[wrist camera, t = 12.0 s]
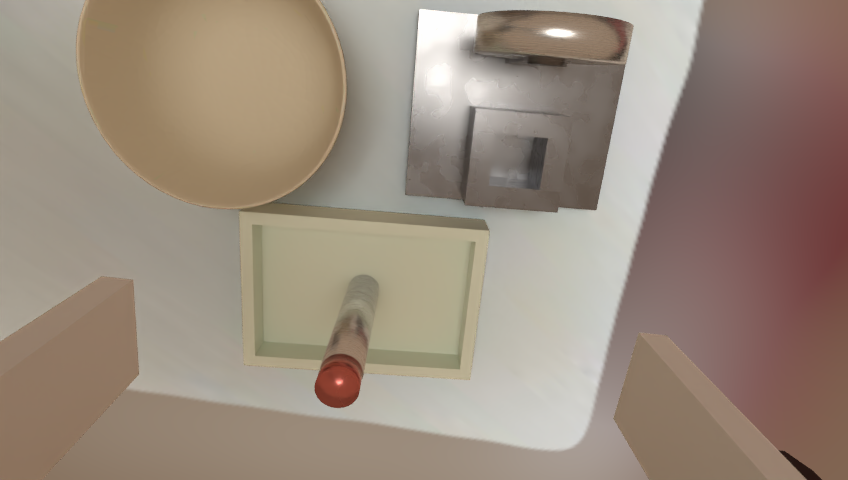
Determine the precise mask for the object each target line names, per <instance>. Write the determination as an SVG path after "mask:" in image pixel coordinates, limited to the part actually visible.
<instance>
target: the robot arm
mask: <svg viewBox="0 0 848 480" xmlns="http://www.w3.org/2000/svg"><path fill="white" fill-rule="evenodd" d="M138 375H139V365H138V350H137V334H136V318H135V302H134V287H133V280H131V279H121V278H112V277H100V278H98V279H97V280H95V281H94V282H92V283H91V284H89V285H88V286H86V287H84V288H83V289H81V290H80V291H78V292H77V293H75V294H74V295H72V296H71V297H69V298H67V299H66V300H64V301H63V302H61V303H60V304H58V305H57V306H55V307H53V308H52V309H50V310H49V311H47V312H46V313H44V314H43V315H41V316H40V317H38V318H36V319H35V320H33V321H32V322H30V323H29V324H27V325H26V326H24V327H22V328H21V329H19V330H18V331H16V332H15V333H13V334H12V335H10V336H9V337H7V338H5V339H4V340H2V341H1V342H0V480H42V479H43V478H44V477H45V476H46V475H47V474H48V472H50V470H51V469H52V468H53V467H54V466H55V465H56V464H57V463H58V462H59V460H61V458H62V457H63V456H64V455H65V454H66V453H67V452H68V451H69V450H70V449H71V448H72V446H73V445H74V444H75V443H76V442H77V441H78V440H79V439H80V438H81V437H82V436H83V435H84V433H85V432H86V431H87V430H88V429H89V428H90V427H91V426H92V425H93V424H94V423H95V421H96V420H97V419H98V418H99V417H100V416H101V415H102V414H103V413H104V412H105V411H106V409H107V408H108V407H109V406H110V405H111V404H112V403H113V402H114V400H116V399H117V397H118V396H119V395H120V394H121V393H122V392H123V391H124V390H125V389H126V388H127V387H128V386H129V384H130V383H131V382H132V381H133V380H134V379H135V378H136V377H137V376H138ZM614 420H615V422H616V423H617V425H618V427H619V429H620V430H621V432H622V434H623V436H624V437H625V439H626V441H627V442H628V444H629V446H630V448H631V449H632V451H633V453H634V454H635V456H636V458H637V460H638V461H639V463H640V465H641V467H642V468H643V470H644V472H645V473H646V475H647V477H648V479H649V480H822V479H821V478H820V477H819V476H818V475H817V474H816V473H815V472H814V471H812V470H811V469H810V468H808V467H807V466H805V465H804V464H802V463H801V462H799V461H798V460H797V459H795V458H794V457H792V456H791V455H789V454H788V453H786V452H785V451H778V450H777V449H776V448H775V447H774V446H773V445H772V444H771V442H769V440H768V439H767V438H766V437H765V436H764V435H763V434H762V433H761V432H760V431H759V430H758V429H757V428H756V427H755V426H754V425H753V424H752V423H751V422H750V421H749V420H748V419H747V418H746V417H745V416H744V415H743V414H742V413H741V412H740V411H739V410H738V409H737V408H736V407H735V406H734V404H733V403H731V401H730V400H729V399H728V398H727V397H726V396H725V395H724V394H723V393H722V392H721V391H720V390H719V389H718V388H717V387H716V386H715V385H714V384H713V383H712V382H711V381H710V380H709V379H708V378H707V377H706V376H705V375H704V374H703V373H702V372H701V371H700V370H699V368H697V366H696V365H695V364H694V363H693V362H692V361H691V360H690V359H689V358H688V357H687V356H686V355H685V354H684V353H683V352H682V351H681V350H680V349H679V348H678V347H677V346H676V345H675V344H674V343H673V342H672V341H671V340H670V339H669V338H668V337H667V336H665V335H656V334H647V333H639V334H638V337H637V340H636V344H635V347H634V351H633V354H632V358H631V361H630V364H629V368H628V371H627V374H626V378H625V381H624V385H623V388H622V392H621V395H620V398H619V401H618V405H617V408H616V412H615V415H614Z"/></svg>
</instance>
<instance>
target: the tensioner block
mask: <svg viewBox="0 0 848 480" xmlns="http://www.w3.org/2000/svg"><path fill="white" fill-rule="evenodd" d="M633 27H634V26H633V25H632V24H631V23H629V22H626V21H623V20H618V19H614V18H609V17H603V16H596V15H588V14H579V13H569V12H555V11H531V10H512V11H494V12H486V13H482V14H479V15H476V14H466V13H455V12H445V11H435V10H424V9H419V22H418V35H417V49H416V62H415V75H414V88H413V101H412V114H411V128H410V141H409V154H408V167H407V180H406V193H405V195H415V196H427V197H440V198H452V199H463V201H464V204H465V205H470V206H482V207H495V208H507V209H520V210H532V211H545V212H557V211H558V207H564V208H576V209H589V210H596V209H597V204H598V199H599V194H600V189H601V184H602V179H603V174H604V169H605V164H606V159H607V154H608V149H609V144H610V139H611V134H612V129H613V124H614V119H615V114H616V109H617V104H618V99H619V94H620V89H621V84H622V79H623V74H624V69H625V64H626V62H627V57H628V52H629V47H630V42H631V37H632V32H633Z"/></svg>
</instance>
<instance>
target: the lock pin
mask: <svg viewBox="0 0 848 480" xmlns="http://www.w3.org/2000/svg"><path fill="white" fill-rule="evenodd" d="M378 296H379V284H378V282H377V281H376V280H375V279H374V278H373V277H371V276H369V275H358V276H355V277H354V278H353V279H352V280H351V281H350V282H349V285H348V288H347V291H346V293H345V296H344V299H343V302H342V305H341V308H340V311H339V314H338V317H337V319H336V322H335V325H334V328H333V331H332V334H331V337H330V340H329V343H328V345H327V348H326V351H325V354H324V357H323V360H322V363H321V366H320V371H319V374H318V377H317V380H316V383H315V393H316V395H317V397H318V399H319V400H320V401H321V402H322V403H324V404H325V405H327V406H330V407H334V408H342V407H346V406H349V405H350V404H352V403H353V402H354V401H355V400H356V399H357V397H358V395H359V390H360V385H361V380H362V378H363V374H364V369H365V363H366V358H367V353H368V348H369V343H370V337H371V332H372V327H373V322H374V317H375V311H376V306H377V301H378Z"/></svg>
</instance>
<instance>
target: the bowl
mask: <svg viewBox="0 0 848 480" xmlns="http://www.w3.org/2000/svg"><path fill="white" fill-rule="evenodd" d="M76 61H77V71H78V76H79V81H80V86H81V90H82V93H83V96H84V99H85V103H86V105H87V107H88V110H89V112H90V114H91V117H92V119H93V121H94V123H95V125H96V126H97V128H98V130H99V131H100V133H101V135H102V136H103V138H104V139H105V141H106V142H107V144H108V145H109V146H110V148H111V149H112V150H113V151H114V153H115V154H116V155H117V156H118V157H119V158H120V159H121V160H122V161H123V162H124V163H125V164H126V166H127V167H129V168H130V169H131V170H132V171H133V172H134V173H135V174H137V175H138V176H139V177H140V178H142V179H143V180H144V181H146V182H147V183H149V184H150V185H152V186H153V187H155V188H157V189H158V190H160V191H162V192H164V193H166V194H168V195H170V196H172V197H174V198H177V199H179V200H182V201H185V202H187V203H191V204H195V205H199V206H203V207H209V208H217V209H243V208H249V207H255V206H259V205H263V204H266V203H269V202H272V201H274V200H277V199H279V198H281V197H283V196H285V195H287V194H289V193H291V192H292V191H294V190H295V189H297V188H298V187H300V186H301V185H302V184H303V183H304V182H306V181H307V180H308V179H309V178H310V177H311V176H312V175H313V174H314V173H315V172H316V171H317V170H318V169H319V167H320V166H321V165H322V163H323V162H324V161H325V159H326V158H327V156H328V155H329V153H330V151H331V149H332V147H333V146H334V144H335V141H336V139H337V137H338V134H339V131H340V128H341V125H342V121H343V117H344V112H345V106H346V97H347V78H346V67H345V61H344V56H343V52H342V48H341V44H340V41H339V38H338V35H337V33H336V30H335V27H334V25H333V23H332V21H331V19H330V17H329V15H328V13H327V11H326V9H325V7H324V6H323V4H322V3H321V1H320V0H86V1H85V3H84V6H83V9H82V12H81V15H80V20H79V24H78V31H77V39H76Z"/></svg>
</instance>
